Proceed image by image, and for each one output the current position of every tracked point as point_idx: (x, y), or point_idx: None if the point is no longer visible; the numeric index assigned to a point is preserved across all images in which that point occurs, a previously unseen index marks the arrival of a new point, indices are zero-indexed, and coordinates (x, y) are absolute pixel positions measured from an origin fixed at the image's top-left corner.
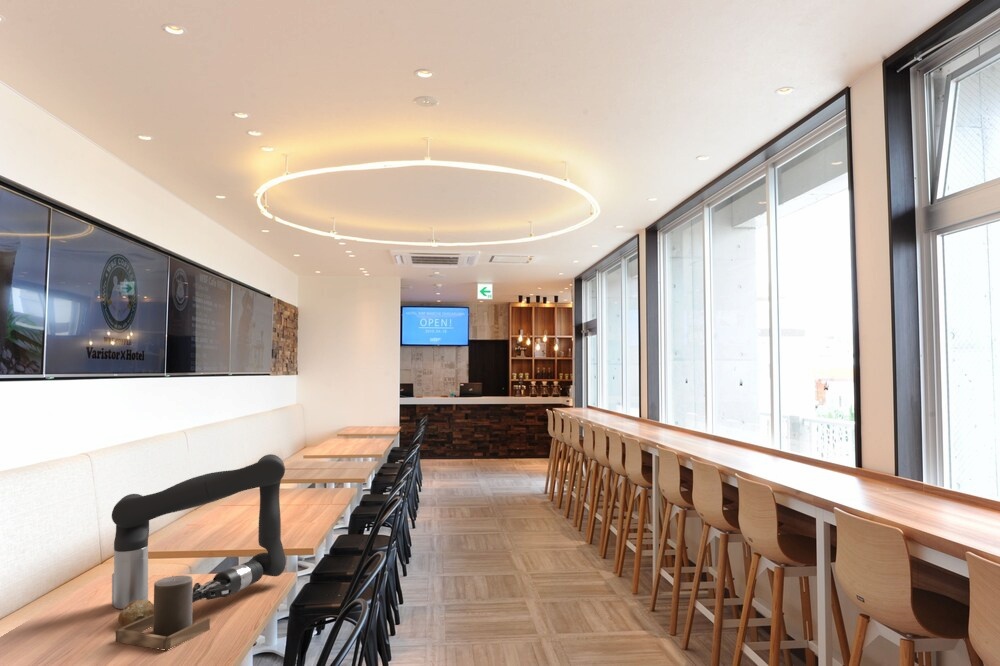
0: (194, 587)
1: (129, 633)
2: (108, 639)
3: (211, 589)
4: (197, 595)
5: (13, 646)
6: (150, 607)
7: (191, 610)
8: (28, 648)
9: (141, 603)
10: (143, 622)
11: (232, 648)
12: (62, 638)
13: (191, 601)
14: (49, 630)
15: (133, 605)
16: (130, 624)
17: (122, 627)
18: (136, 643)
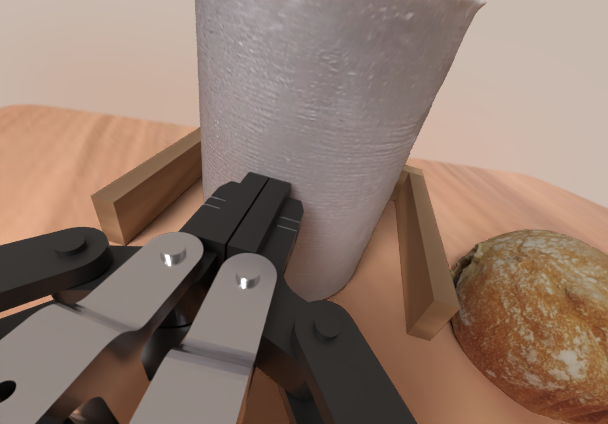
0: (376, 391)
1: None
2: (442, 210)
3: (15, 285)
4: (203, 205)
5: (597, 206)
6: (509, 277)
7: (202, 175)
8: (555, 196)
9: (560, 251)
10: (412, 223)
11: (5, 125)
12: (566, 227)
13: (200, 125)
14: None
15: (563, 236)
16: (422, 191)
17: (422, 179)
18: None
